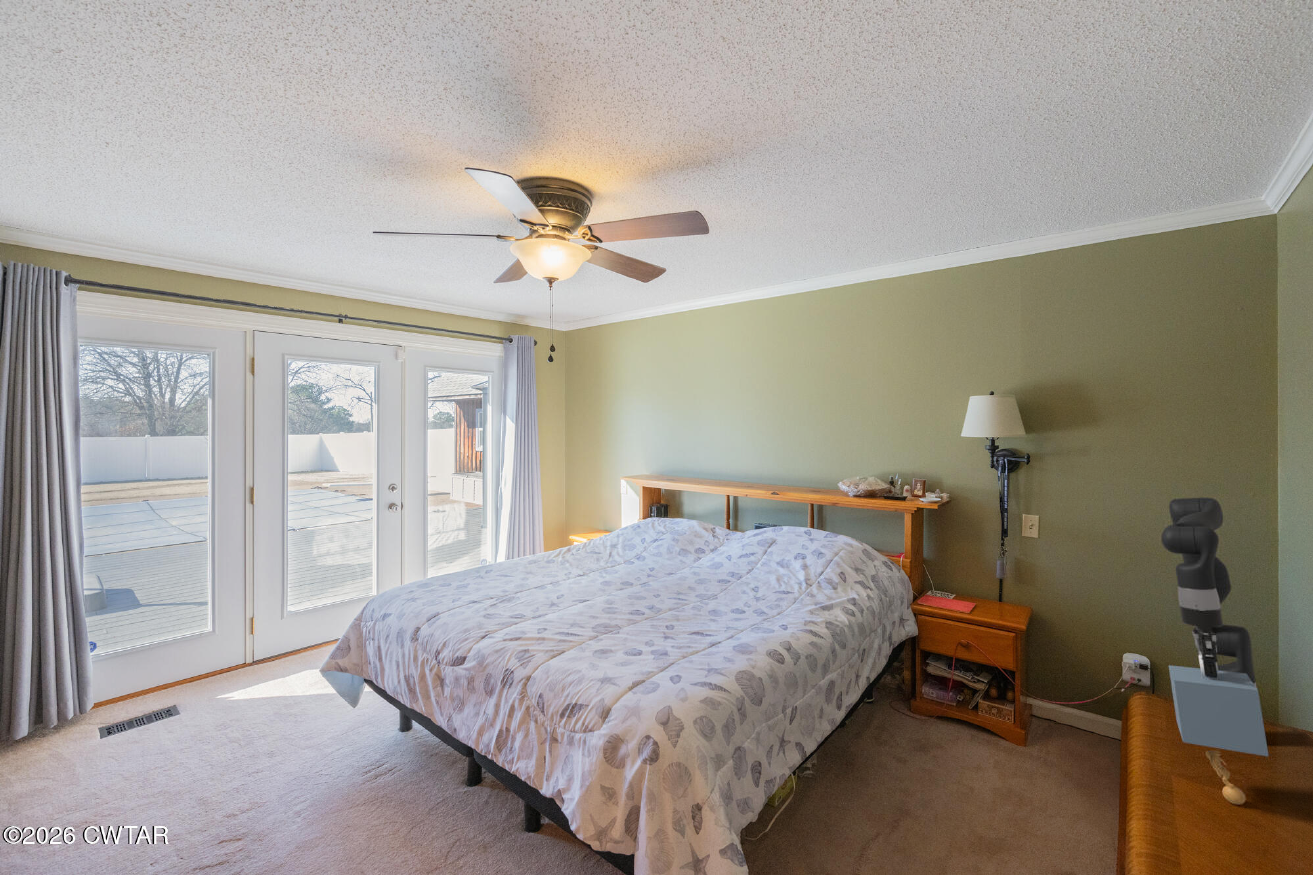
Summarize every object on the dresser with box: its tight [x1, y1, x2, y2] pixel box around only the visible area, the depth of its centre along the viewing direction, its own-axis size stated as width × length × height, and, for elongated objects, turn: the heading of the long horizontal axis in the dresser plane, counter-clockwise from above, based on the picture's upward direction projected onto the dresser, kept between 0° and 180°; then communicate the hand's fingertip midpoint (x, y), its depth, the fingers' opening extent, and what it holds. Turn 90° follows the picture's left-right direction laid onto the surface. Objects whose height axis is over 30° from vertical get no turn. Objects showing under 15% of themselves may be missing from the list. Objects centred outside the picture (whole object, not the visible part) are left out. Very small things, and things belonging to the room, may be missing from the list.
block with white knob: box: [1168, 654, 1269, 757], centre depth 139 cm, size 13×15×20 cm
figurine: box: [1205, 749, 1246, 805], centre depth 138 cm, size 8×6×12 cm
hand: (1210, 674), depth 140 cm, fingers closed on block with white knob, 3 cm apart
